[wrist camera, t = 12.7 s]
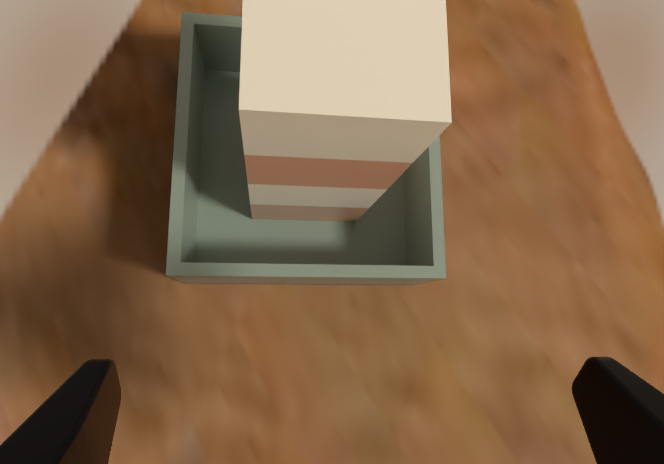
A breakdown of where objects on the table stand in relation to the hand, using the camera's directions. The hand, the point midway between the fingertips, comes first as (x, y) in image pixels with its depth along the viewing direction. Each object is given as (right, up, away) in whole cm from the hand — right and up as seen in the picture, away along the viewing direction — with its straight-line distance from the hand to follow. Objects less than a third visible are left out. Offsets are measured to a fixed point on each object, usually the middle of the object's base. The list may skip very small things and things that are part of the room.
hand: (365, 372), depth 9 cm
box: (-2, +6, +15) cm, 16 cm away
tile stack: (-2, +6, +14) cm, 15 cm away
